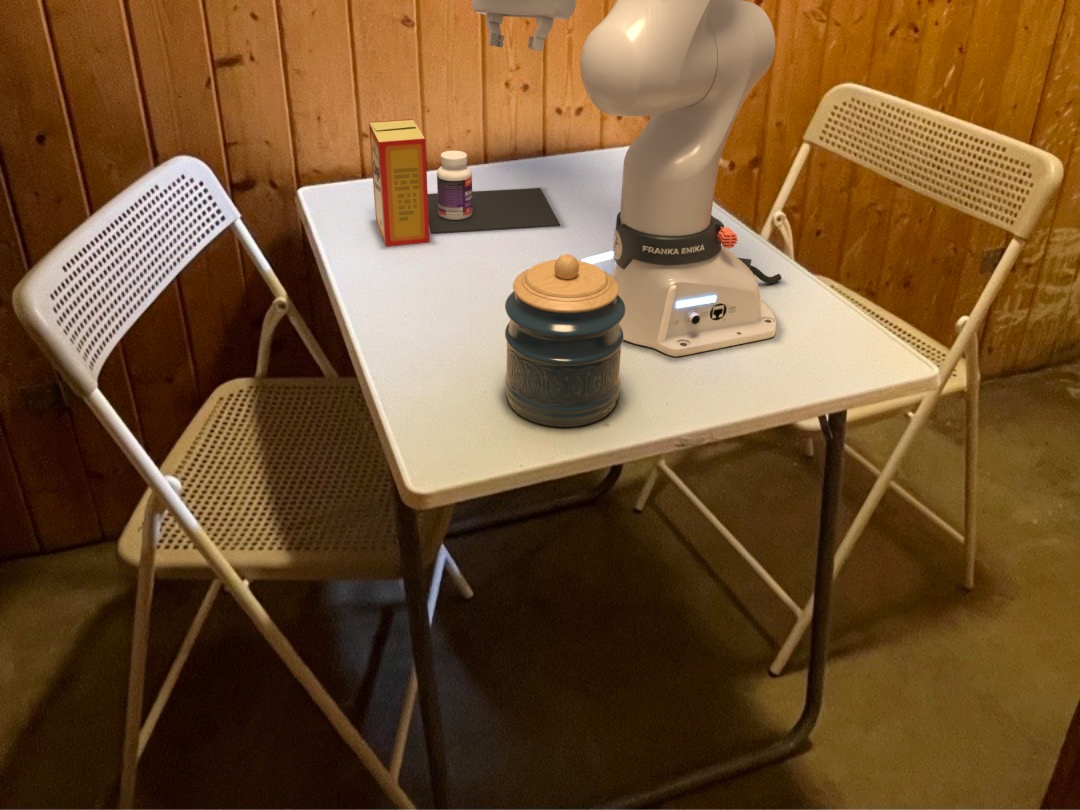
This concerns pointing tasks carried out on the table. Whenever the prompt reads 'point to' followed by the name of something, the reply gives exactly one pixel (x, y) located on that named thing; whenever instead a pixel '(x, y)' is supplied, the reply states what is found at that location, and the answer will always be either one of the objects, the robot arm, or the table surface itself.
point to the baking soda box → (400, 181)
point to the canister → (564, 343)
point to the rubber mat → (497, 212)
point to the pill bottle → (454, 186)
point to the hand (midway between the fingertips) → (514, 48)
